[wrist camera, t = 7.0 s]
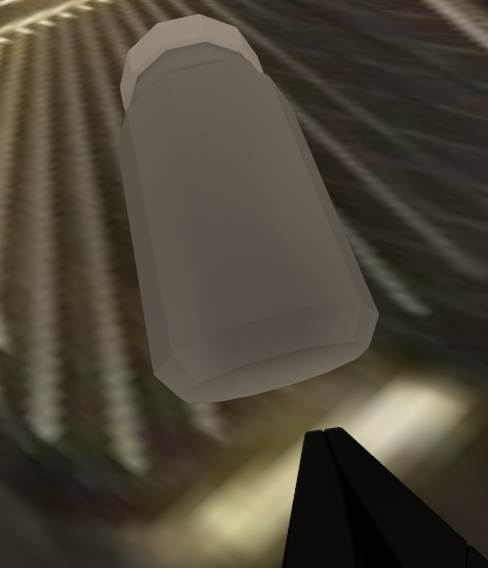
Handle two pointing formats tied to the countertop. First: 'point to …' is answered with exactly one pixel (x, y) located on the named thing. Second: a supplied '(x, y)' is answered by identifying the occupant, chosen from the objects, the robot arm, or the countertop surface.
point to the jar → (231, 222)
